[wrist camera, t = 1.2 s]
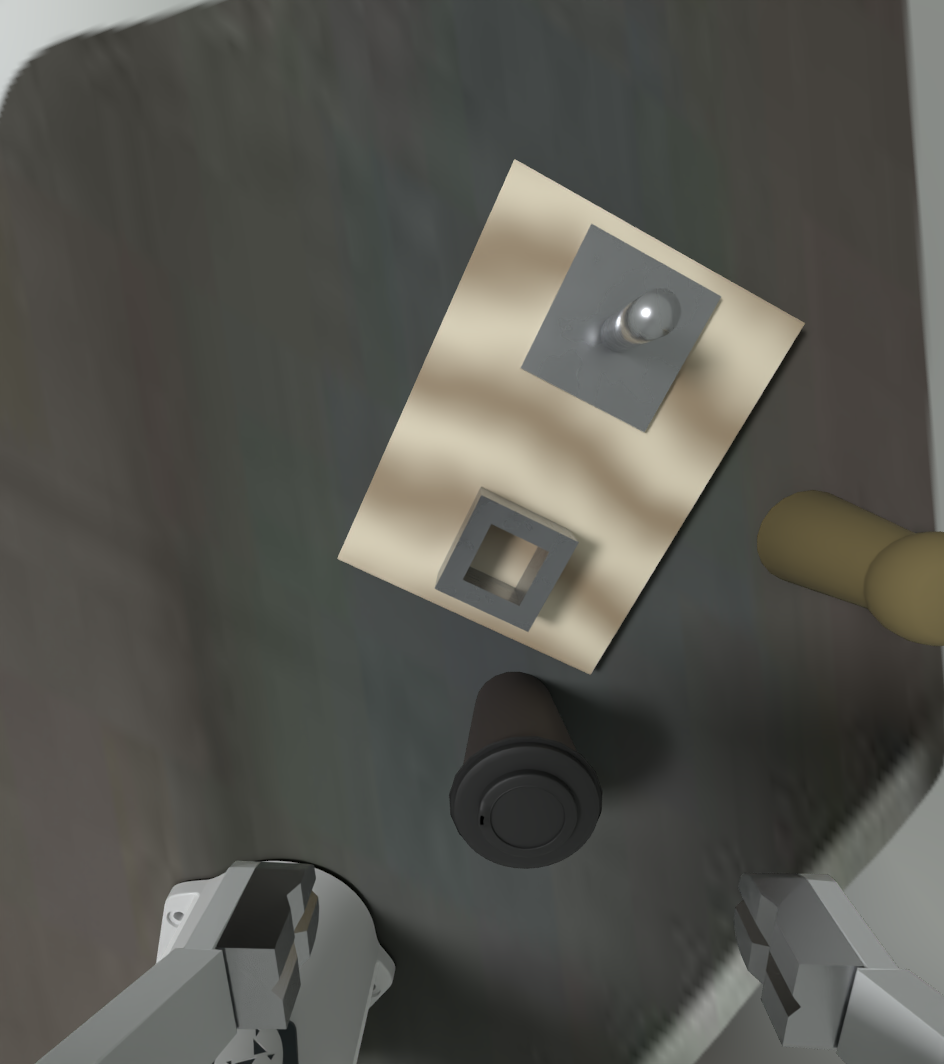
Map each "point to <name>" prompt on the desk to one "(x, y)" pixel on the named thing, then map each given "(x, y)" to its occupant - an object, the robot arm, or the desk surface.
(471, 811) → the coffee cup
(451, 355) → the board
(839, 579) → the cork
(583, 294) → the post
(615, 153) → the desk surface
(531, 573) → the link
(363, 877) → the desk surface
